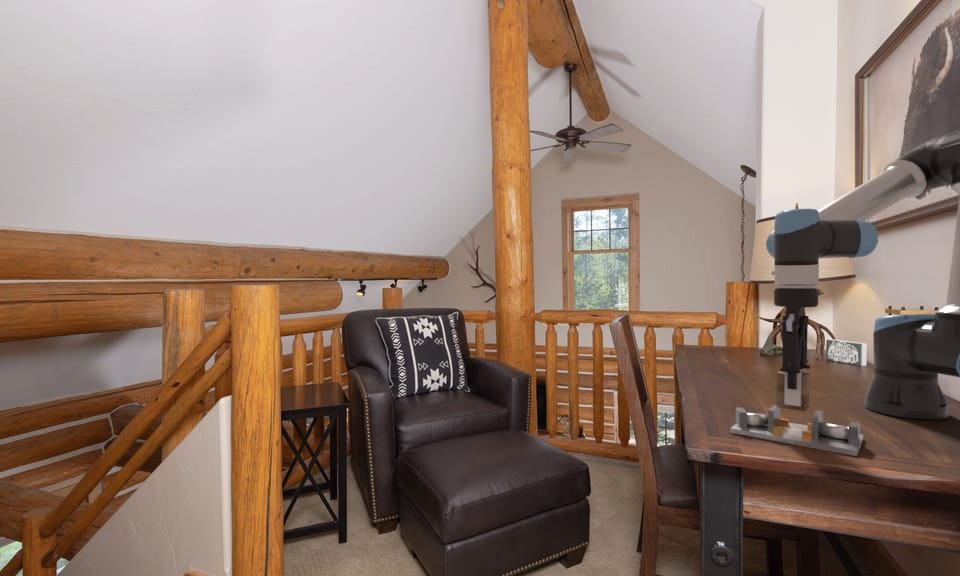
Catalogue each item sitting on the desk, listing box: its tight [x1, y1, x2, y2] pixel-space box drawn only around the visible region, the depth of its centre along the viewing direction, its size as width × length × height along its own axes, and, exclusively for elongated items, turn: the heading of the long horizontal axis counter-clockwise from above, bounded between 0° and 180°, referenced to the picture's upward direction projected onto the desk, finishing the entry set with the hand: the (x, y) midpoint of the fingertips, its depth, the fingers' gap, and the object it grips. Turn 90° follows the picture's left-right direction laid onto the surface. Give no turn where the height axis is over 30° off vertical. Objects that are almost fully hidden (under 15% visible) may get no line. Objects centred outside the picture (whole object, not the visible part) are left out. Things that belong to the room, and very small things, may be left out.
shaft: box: [735, 406, 768, 428], centre depth 105 cm, size 6×4×3 cm
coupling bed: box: [730, 404, 864, 457], centre depth 101 cm, size 21×12×5 cm, turn 48°
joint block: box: [775, 370, 811, 412], centre depth 101 cm, size 5×4×8 cm
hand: (794, 402), depth 101 cm, fingers closed on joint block, 4 cm apart
